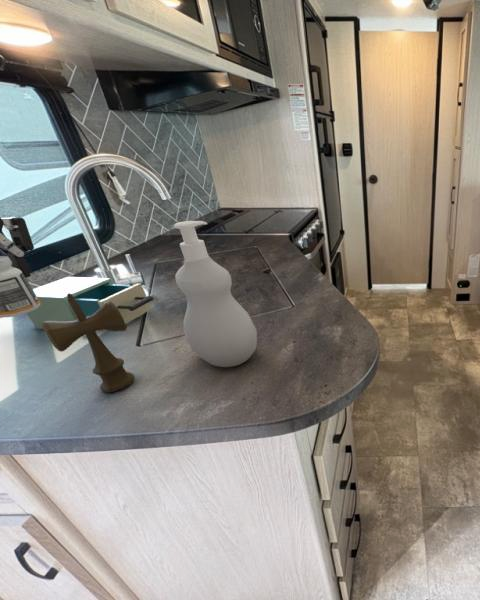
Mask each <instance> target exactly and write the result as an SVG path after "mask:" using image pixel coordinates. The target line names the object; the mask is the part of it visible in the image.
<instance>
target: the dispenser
mask: <svg viewBox="0 0 480 600" xmlns="http://www.w3.org/2000/svg"><path fill="white" fill-rule="evenodd" d="M103 284H114V283H113V282H112V279H111V278H110V277H109V278H108V277H88V276H87V277H86V276H85V277H84V276H66V277H65V276H64V277H63V278H60V279H58V280H55V281H51V282H48V283H46V284H44V285H40V286H38V287H35V288H32V289H33V291H34V293H35V295H36V296H37V298H38V300H39V302H40V306H39V307H38V308H37V309H35V310H33V311H31V312H28V313H26V315H27V316H28V318H29V319H30V321H31V323H32V324H33V326H34V327H35V329H37V330H44V329H43V326H42V323H43V322H44V321H75V320H78V317H77V315H76V314H75V312H74V310H73V308H72V307H71V305H70V303H69V301H68V300H67V299H68V296H67V294H68V293H70V294H72V296H73V297H74V296H77V295H79V294H81V293H84V292H86V291H89V290H91V289H93V288H96V287H98V286H101V285H103Z"/></svg>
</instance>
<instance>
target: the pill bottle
mask: <svg viewBox="0 0 480 600" xmlns="http://www.w3.org/2000/svg"><path fill="white" fill-rule="evenodd" d="M11 265H12V262H11V260H10V259H9V257H8V256H6V255H0V318H13V317H17V316H21V315H25V314H27V313H28V312H31V311H33V310H35V309H37V308H38V307H39V306H40V302H39V300H38V298H37V296H36V295H35V293H34V291H33V289H34V288H33V287H32V286H31V284H30V282H29V281H28V279H27V278H25V276H24V274H23V272H22V271H21V270H19V269H18V268H14V267H12V266H11Z"/></svg>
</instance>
